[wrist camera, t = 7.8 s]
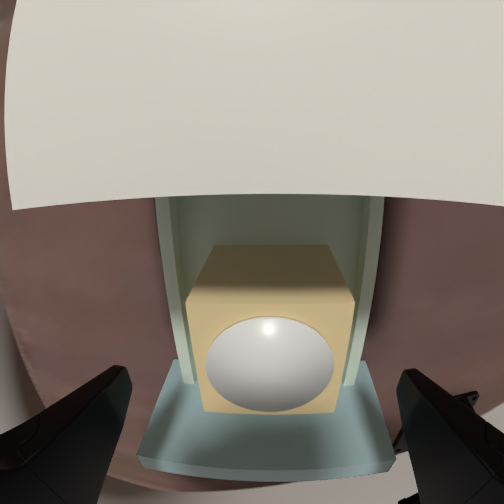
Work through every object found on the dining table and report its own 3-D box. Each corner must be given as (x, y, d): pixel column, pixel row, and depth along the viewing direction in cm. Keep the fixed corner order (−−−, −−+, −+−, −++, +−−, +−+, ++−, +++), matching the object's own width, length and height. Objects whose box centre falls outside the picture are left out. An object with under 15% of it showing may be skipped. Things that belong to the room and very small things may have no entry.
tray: (361, 375, 17) (388, 471, 10) (177, 373, 18) (143, 467, 11) (393, 147, 13) (489, 163, 6) (145, 148, 13) (46, 166, 7)
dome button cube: (320, 338, 15) (334, 416, 10) (221, 338, 15) (203, 415, 11) (328, 245, 13) (356, 306, 8) (213, 245, 14) (183, 305, 9)
